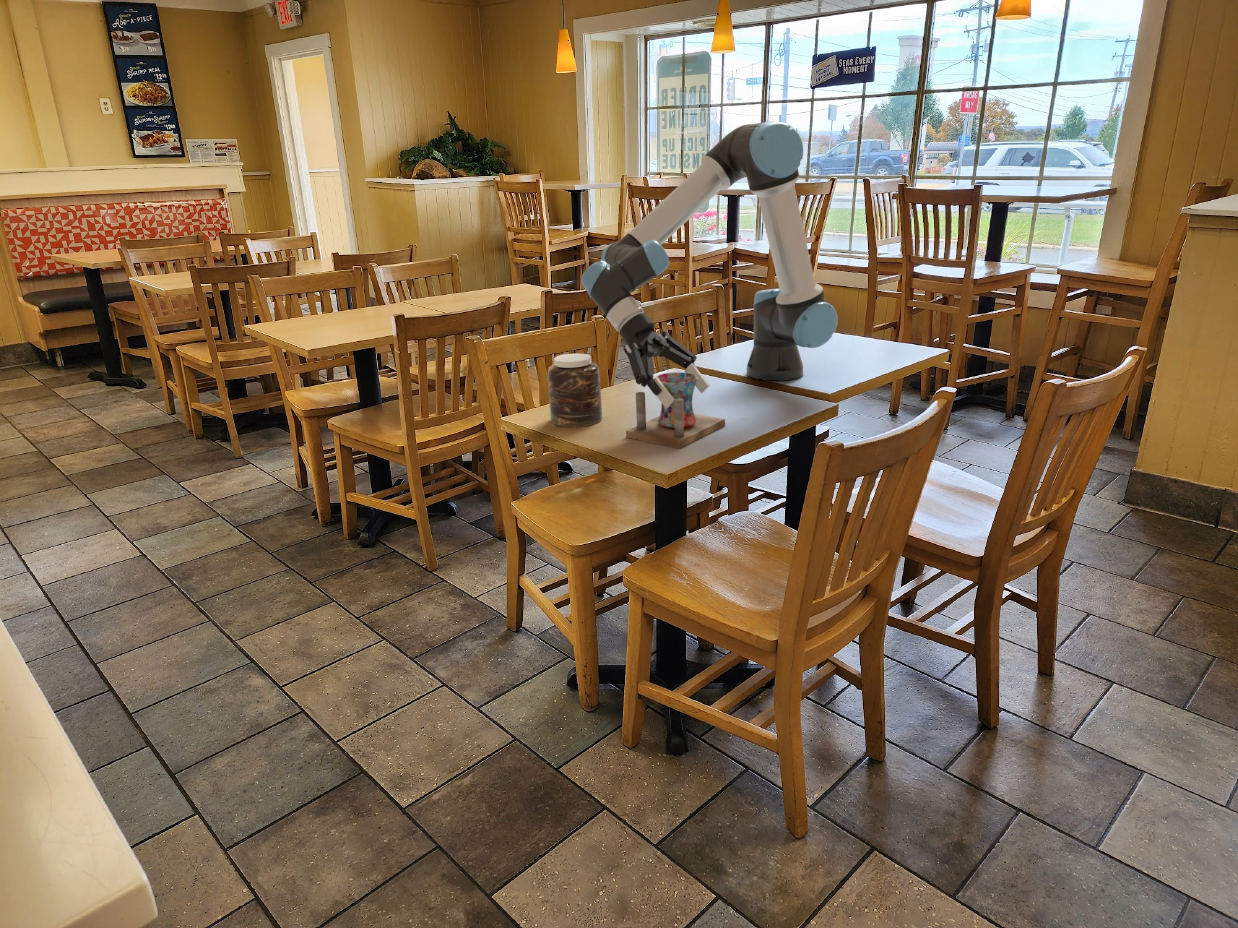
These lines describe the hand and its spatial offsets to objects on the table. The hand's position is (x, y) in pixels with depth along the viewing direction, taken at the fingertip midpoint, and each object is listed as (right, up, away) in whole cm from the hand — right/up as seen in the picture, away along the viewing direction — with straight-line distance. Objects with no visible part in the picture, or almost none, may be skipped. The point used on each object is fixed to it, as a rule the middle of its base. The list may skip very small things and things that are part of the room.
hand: (688, 397), depth 176 cm
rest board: (-3, -7, +3) cm, 8 cm away
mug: (-2, -6, +3) cm, 7 cm away
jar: (-25, -4, +14) cm, 29 cm away
